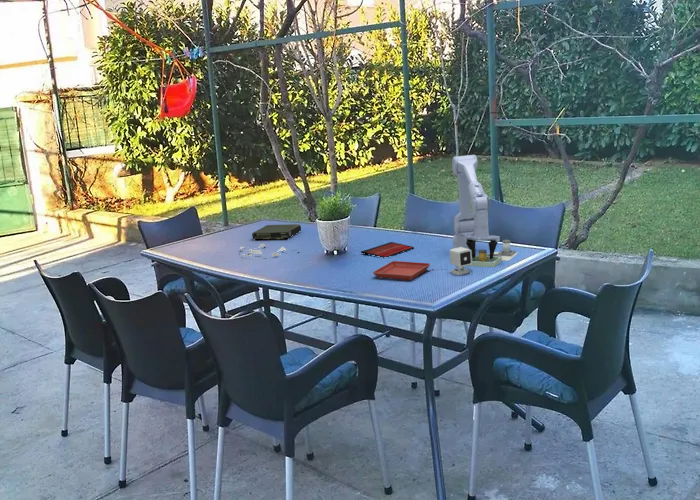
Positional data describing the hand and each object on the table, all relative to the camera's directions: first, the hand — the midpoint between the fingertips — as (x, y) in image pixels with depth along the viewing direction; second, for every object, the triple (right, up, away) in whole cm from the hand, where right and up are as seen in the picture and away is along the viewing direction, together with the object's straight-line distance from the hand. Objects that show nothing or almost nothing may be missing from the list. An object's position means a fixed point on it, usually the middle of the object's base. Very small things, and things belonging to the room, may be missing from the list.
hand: (482, 257), depth 287 cm
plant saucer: (-33, -7, -1) cm, 34 cm away
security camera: (-10, -6, -7) cm, 14 cm away
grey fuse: (+12, +1, +11) cm, 17 cm away
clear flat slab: (-97, +1, +61) cm, 115 cm away
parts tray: (0, -3, +1) cm, 3 cm away
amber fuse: (0, -3, +1) cm, 3 cm away
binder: (-37, +2, +40) cm, 55 cm away
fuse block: (+9, -1, +10) cm, 13 cm away
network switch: (-95, +10, +98) cm, 137 cm away
